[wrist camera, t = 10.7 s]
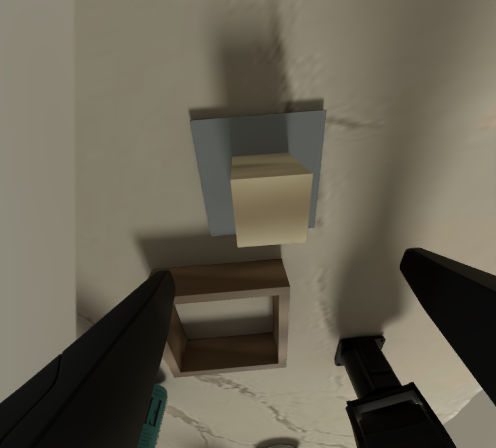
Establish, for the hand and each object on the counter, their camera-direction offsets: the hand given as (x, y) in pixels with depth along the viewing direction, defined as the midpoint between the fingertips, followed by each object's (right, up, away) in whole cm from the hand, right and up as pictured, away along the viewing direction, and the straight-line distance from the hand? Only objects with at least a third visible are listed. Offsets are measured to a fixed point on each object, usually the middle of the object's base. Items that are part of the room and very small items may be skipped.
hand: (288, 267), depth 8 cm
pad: (0, +6, +10) cm, 12 cm away
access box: (-4, -9, +18) cm, 20 cm away
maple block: (0, +5, +10) cm, 11 cm away
